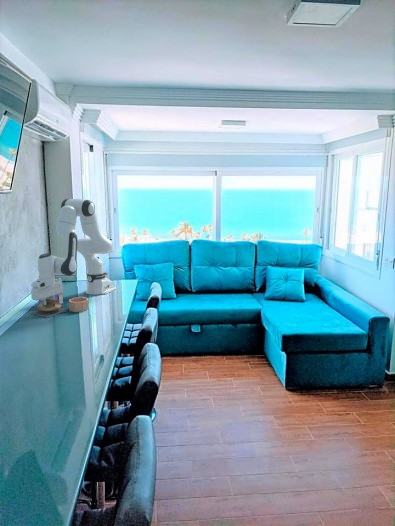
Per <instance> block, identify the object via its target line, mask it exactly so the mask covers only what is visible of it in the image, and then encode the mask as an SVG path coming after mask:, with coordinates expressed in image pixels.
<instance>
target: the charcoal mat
mask: <svg viewBox="0 0 395 526" xmlns="http://www.w3.org/2000/svg"><path fill="white" fill-rule="evenodd" d="M68 311H69V308H68V309H67V308H63V307H61V308H59V309H57V310H53V311H39V310H37V309H36V310H34V311H30V314H31V315H34V316H39V317H43V318H46V319H49V318H52V317H53V316H56V315H60V314H62V313H65V312H68Z"/></svg>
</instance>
